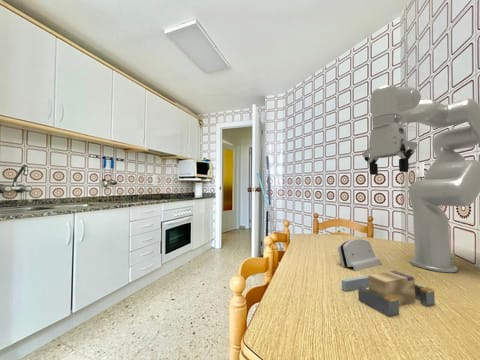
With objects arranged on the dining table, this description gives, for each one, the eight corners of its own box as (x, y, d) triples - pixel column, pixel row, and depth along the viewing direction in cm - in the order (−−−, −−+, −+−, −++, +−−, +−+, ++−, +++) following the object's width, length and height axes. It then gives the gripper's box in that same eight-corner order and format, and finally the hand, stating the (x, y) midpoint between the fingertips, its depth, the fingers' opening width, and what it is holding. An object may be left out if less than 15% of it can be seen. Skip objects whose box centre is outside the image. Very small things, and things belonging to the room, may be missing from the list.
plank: (378, 282, 60) (378, 273, 60) (383, 284, 58) (382, 275, 59) (341, 289, 55) (341, 279, 55) (345, 291, 54) (345, 281, 54)
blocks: (401, 290, 55) (400, 277, 55) (435, 304, 48) (434, 289, 48) (358, 300, 49) (358, 285, 50) (389, 317, 42) (389, 299, 43)
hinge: (355, 271, 69) (345, 240, 72) (342, 271, 72) (333, 242, 76) (382, 264, 77) (371, 236, 80) (370, 264, 80) (360, 238, 84)
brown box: (397, 294, 53) (396, 270, 53) (415, 302, 49) (414, 276, 49) (369, 301, 49) (368, 274, 50) (386, 310, 45) (385, 281, 46)
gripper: (422, 116, 64) (425, 171, 62) (369, 131, 80) (371, 175, 79) (406, 112, 61) (409, 170, 60) (355, 129, 77) (356, 175, 76)
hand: (387, 173), depth 69 cm, fingers open, 9 cm apart
